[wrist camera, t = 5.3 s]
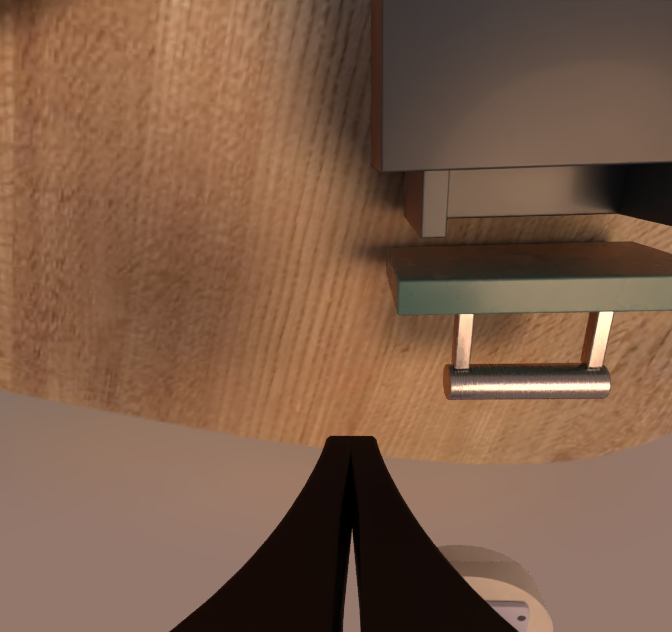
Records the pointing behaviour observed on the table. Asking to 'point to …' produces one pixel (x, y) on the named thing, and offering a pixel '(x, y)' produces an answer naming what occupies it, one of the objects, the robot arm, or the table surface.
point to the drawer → (532, 267)
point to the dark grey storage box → (520, 83)
